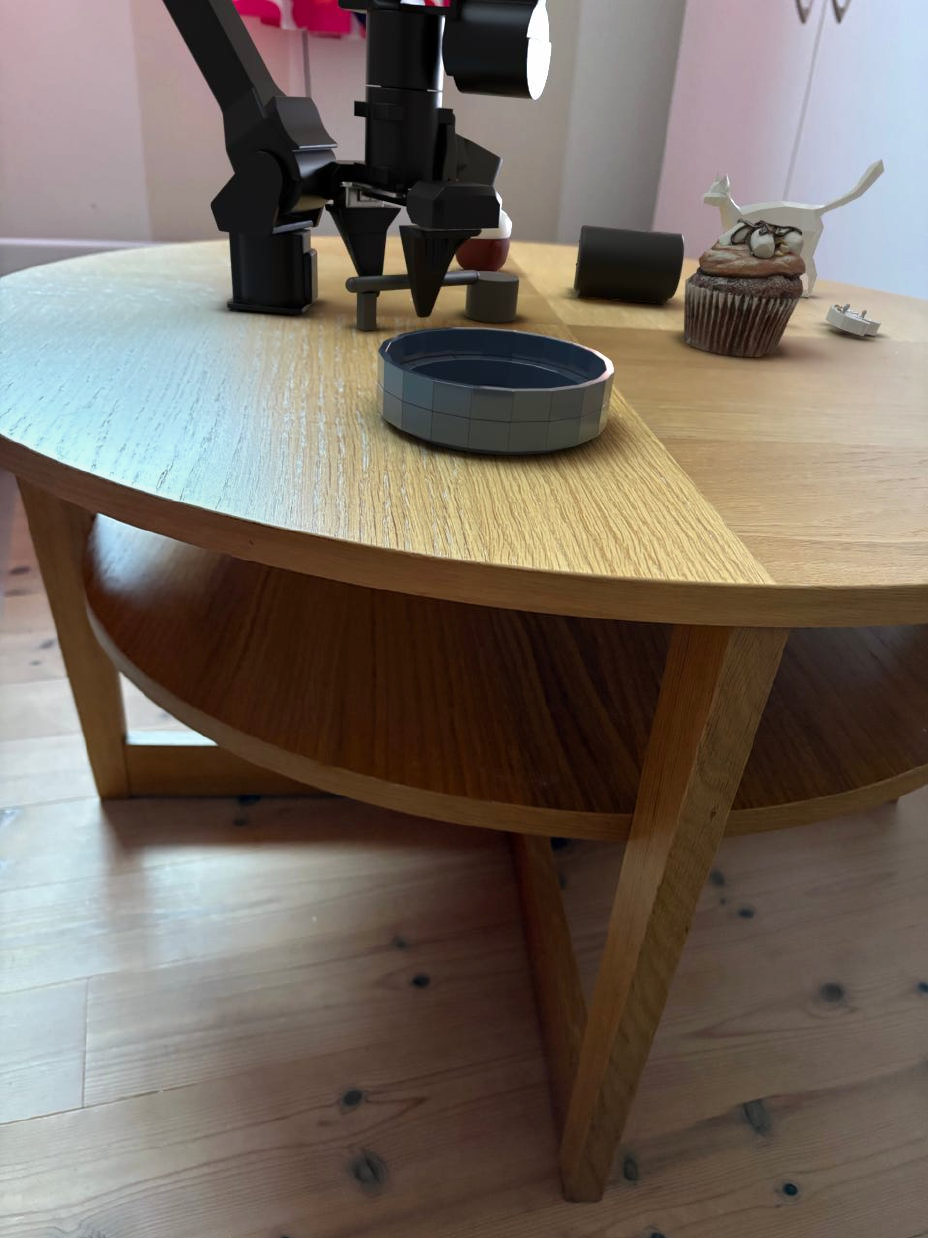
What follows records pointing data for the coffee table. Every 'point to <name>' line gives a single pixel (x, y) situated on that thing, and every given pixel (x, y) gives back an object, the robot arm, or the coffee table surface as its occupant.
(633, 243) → the end cap
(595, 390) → the bowl
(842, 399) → the coffee table surface
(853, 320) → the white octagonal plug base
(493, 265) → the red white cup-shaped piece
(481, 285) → the ladle
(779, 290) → the cupcake
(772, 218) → the cat figurine
